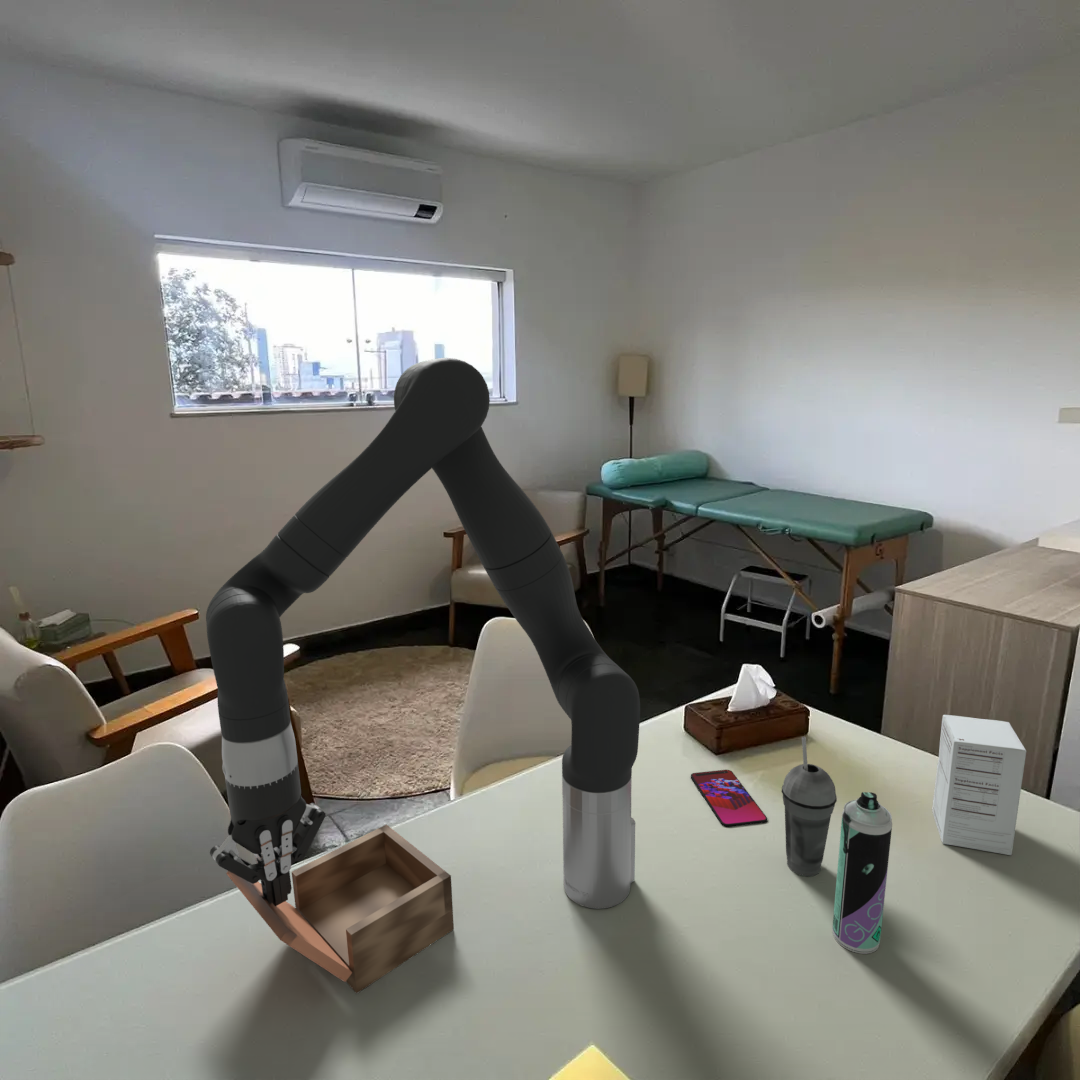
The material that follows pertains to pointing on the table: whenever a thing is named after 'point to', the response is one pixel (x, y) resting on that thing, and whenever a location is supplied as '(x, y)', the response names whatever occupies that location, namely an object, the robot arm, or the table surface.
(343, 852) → the box
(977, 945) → the table surface
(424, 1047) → the table surface
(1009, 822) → the supplement box
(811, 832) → the beverage cup
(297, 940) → the panel
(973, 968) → the table surface
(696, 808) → the table surface
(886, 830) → the spray can
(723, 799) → the smartphone
